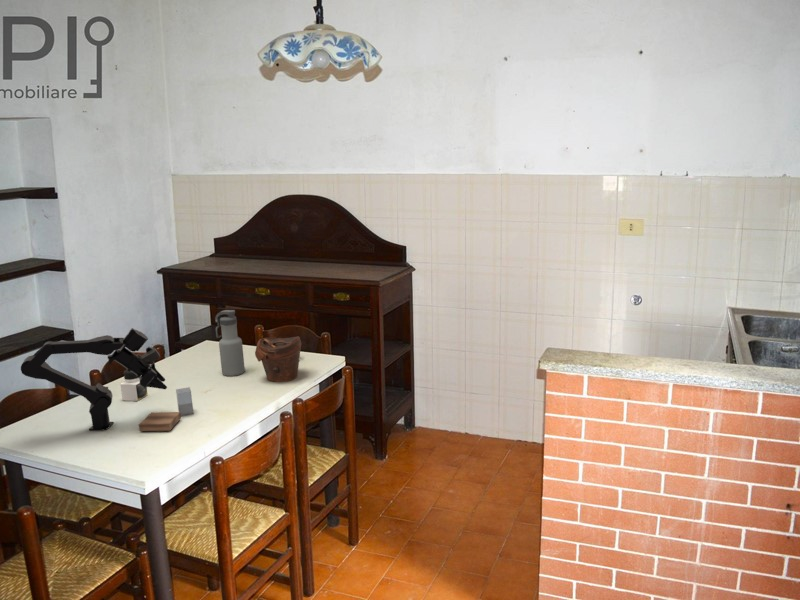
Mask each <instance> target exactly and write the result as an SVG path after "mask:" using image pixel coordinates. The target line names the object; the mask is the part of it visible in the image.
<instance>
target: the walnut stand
mask: <svg viewBox="0 0 800 600" xmlns="http://www.w3.org/2000/svg"><path fill="white" fill-rule="evenodd" d="M181 419H182V416H181V413H180V412H179V411H169V412H168V411H167V412H166V411H163V412H162V411H161V412H157V411H156V412H154V411H153V412H150V413H149V414H148V415H147V416H146V417H145V418H144V419H143V420H142V421H141V422H139V424H138V430H139V432H168V431H171V430H172V429H173V427H175V426H176V424H177V423H178V422H179V421H180V420H181Z"/></svg>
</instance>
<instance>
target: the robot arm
mask: <svg viewBox="0 0 800 600" xmlns="http://www.w3.org/2000/svg"><path fill="white" fill-rule="evenodd" d="M148 340H149V337H148V336H147V335H146V334H144V333H143V332H142V331H139V330H137V329H135V328H133V327H131V328H130V330H129V331H128V333H127V334H126V335H125V336H124V337H113V336H112V335H101V336H97V337H93V338H90V339H84V340H82V339H81V340H64V341H63V340H60V341H46V342H45V343H44V344H43V346H41V347H40V348H39V349H38V350H37V351H36V352H35V353H34V354H33V355H29V356H27V357H26V358H25V359H24V360H23V361H22V364H21V366H20V371H21V374H22V375H24V377H25V376H26V377H27V378H28V377H29V378H32V379H35V380H45V381H48V382H50V383H52V384H54V385H57V386H59V387H62V388H64V389H66V390H68V391H70V392H73V394H76V395H79V396H81V397H82V398H84V399H85V400H87V401H88V402H89V403H90V406H89V411H88V413H89V414H90V416H91V417H90V418H91V425H92V426H90V427H89V428H88V431H107V430H108V429H109V428H110V427H112V425H113V424H114V423H115V422H114V421H110V415H109V408H110V406H112V402H113V392H112V391H111V389H109V386H104V385H102V384H101V383H100V382H96V383H97V384H96V385H90V384H88V383H85V382H83V381H81V380H79V379H77V378H75V377H72V376H70V375H68V374H65V373H63V372H61V371H59V370H57V369H55V368H53V367H52V366H50V365H49V364H48V363H47V362H46V361H47V360H48V359H49V357H51V355H60V354H81V353H82V354H83V353H91V354H95V355H101V356H102V355H103V356H107V359H108V365H112V363H114V362H116V363H118V364H120V365H121V366H122V367H123V368H125V369H126V370H127V371H129V372H130V371H131V372H133V373H134V374H136V375H137V377H138V378H139V380H140V385H142V386H143V387H147V388H154V389H161V390H167V388H168V386H167V385H166V384H165V383H164V382H165V381H166V379H165V377H164V376H163V375H162V374H161V373H160V372H159V371H158V369H157V368H156V364H155V361H157V360H159V359H160V358H161V355H160V353H159V351H158V350H157V349H156V347H151V346H147V347H146V348H145V352H144V353H143V355H140V353H137V354H135V353H134V352H139V351H140V350H141V348H142V347H143V346H144V344H146V343H147V341H148Z"/></svg>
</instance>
